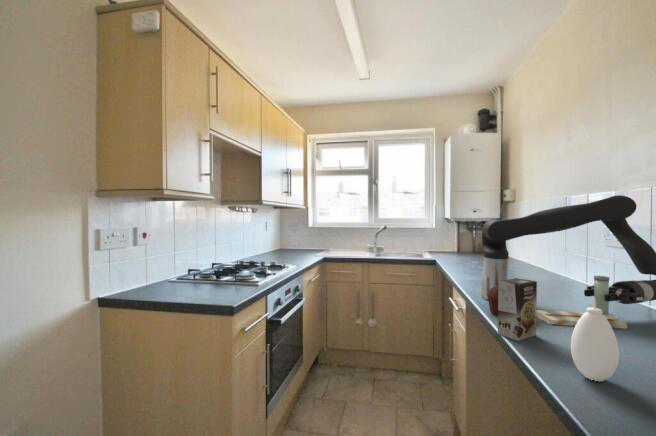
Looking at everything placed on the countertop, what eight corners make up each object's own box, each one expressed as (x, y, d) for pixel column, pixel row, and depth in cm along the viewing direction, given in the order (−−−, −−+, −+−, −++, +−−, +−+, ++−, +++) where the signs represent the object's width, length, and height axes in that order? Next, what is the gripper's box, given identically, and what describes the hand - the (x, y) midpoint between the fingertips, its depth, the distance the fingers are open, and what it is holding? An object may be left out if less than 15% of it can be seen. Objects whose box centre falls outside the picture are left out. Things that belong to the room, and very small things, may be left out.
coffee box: (518, 342, 86) (519, 284, 85) (496, 333, 91) (497, 280, 91) (537, 335, 90) (538, 281, 90) (515, 328, 95) (515, 277, 95)
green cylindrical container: (598, 318, 99) (598, 278, 98) (586, 312, 104) (587, 274, 104) (616, 319, 98) (616, 278, 98) (603, 313, 103) (604, 275, 103)
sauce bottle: (573, 366, 72) (574, 290, 72) (619, 379, 66) (621, 296, 66) (567, 378, 66) (568, 296, 66) (616, 394, 61) (618, 304, 60)
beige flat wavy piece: (549, 324, 99) (549, 319, 99) (533, 314, 109) (533, 309, 109) (627, 328, 95) (627, 323, 95) (603, 317, 105) (603, 313, 105)
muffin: (531, 319, 104) (532, 289, 104) (502, 321, 102) (502, 291, 102) (506, 308, 116) (506, 282, 115) (479, 310, 114) (479, 283, 114)
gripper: (607, 276, 112) (572, 279, 107) (659, 285, 98) (621, 289, 93) (607, 297, 112) (572, 300, 107) (658, 309, 98) (621, 313, 93)
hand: (595, 295), depth 100 cm, fingers open, 5 cm apart
